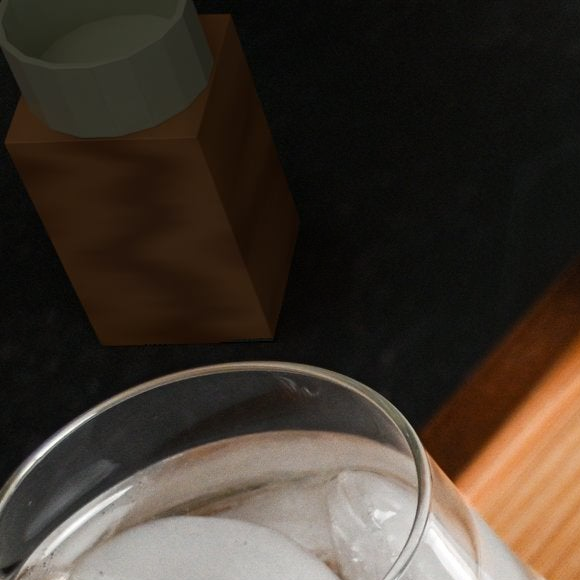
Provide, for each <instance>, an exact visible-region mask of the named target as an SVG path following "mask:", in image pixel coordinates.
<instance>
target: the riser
mask: <svg viewBox="0 0 580 580" xmlns="http://www.w3.org/2000/svg"><path fill="white" fill-rule="evenodd" d="M198 17H199V20H200V23H201V26H202V29H203V31H204V34H205V37H206V40H207V43H208V45H209V48H210V51H211V54H212V57H213V60H214V63H213V67H212V71H211V74H210V78H209V82H208V85H207V86H206V88H205V89H204V90H203V91H202V92H201V93H200V94H199V95H198V97H197V98H196V99H195V100H194V101H193V102H192V103H191V104H190V106H189V107H188V108H187V109H185V110H183V111H182V112H180V113H178V114H176V115H175V116H173V117H171V118H170V119H168V120H166V121H165V122H163V123H161V124H159V125H158V126H155V127H152V128H149V129H145V130H142V131H138V132H135V133H131V134H128V135H124V136H121V137H102V138H80V137H76V136H73V135H69V134H65V133H62V132H58V131H54V130H52V129H50V128H49V127H47V126H46V125H45V124H44V123H43V122H41V121H40V120H39V119H38V118H37V117H35V116H34V115H33V114H32V113H31V112H30V110H29V108H28V105H27V103H26V101H25V99H24V97H23V95H22V93H21V94H20V96H19V100H18V102H17V105H16V108H15V112H14V113H13V117H12V120H11V122H10V126H9V127H8V130H7V134H6V136H5V139H4V146H5V148H6V150H7V152H8V154H9V156H10V158H11V161H12V162H13V165H14V167H15V168H16V171H17V173H18V175H19V177H20V179H21V181H22V183H23V186H24V187H25V190H26V192H27V193H28V196H29V198H30V199H31V201H32V204H33V206H34V209H35V210H36V212H37V214H38V217H39V219H40V220H41V223H42V225H43V227H44V229H45V231H46V233H47V235H48V237H49V239H50V241H51V243H52V246H53V248H54V250H55V252H56V254H57V256H58V258H59V260H60V263H61V264H62V267H63V268H64V270H65V273H66V275H67V277H68V279H69V281H70V283H71V285H72V287H73V289H74V292H75V294H76V295H77V298H78V300H79V302H80V304H81V307H82V308H83V310H84V312H85V314H86V316H87V319H88V321H89V323H90V325H91V327H92V329H93V330H94V332H95V335H96V337H97V340H98V341H99V343H100V345H101V347H125V346H126V347H127V346H128V347H129V346H165V345H164V344H166V346H167V345H169V344H171V345H203V344H204V345H206V344H207V345H208V344H209V345H210V344H222V343H221V342H226V341H232V340H236V339H244V338H245V339H249V338H250V339H257V338H265V339H266V338H273V337H274V334H275V329H276V326H277V322H278V319H279V320H280V317H279V314H280V315H281V313H280V311H281V312H282V308H283V304H282V302H283V303H284V298H285V294H286V289H287V286H288V281H289V276H290V271H291V267H292V262H293V257H294V253H295V249H296V244H297V241H298V235H299V230H300V226H301V223H302V221H301V219H300V216H299V213H298V210H297V207H296V204H295V200H294V198H293V195H292V191H291V189H290V185H289V184H288V183H289V182H288V180H287V177H286V175H285V171H284V168H283V165H282V162H281V160H280V156H279V154H278V150H277V148H276V144H275V142H274V138H273V136H272V132H271V130H270V127H269V124H268V120H267V118H266V115H265V112H264V108H263V106H262V103H261V100H260V97H259V95H258V91H257V88H256V85H255V83H254V79H253V77H252V74H251V70H250V68H249V65H248V62H247V59H246V56H245V53H244V50H243V47H242V44H241V41H240V38H239V35H238V32H237V30H236V26H235V23H234V20H233V18H232V15H231V13H216V14H215V13H213V14H198ZM281 307H282V308H281ZM278 323H279V322H278ZM277 327H278V326H277ZM145 344H147V345H145ZM150 344H151V345H150ZM154 344H156V345H154ZM159 344H161V345H159Z"/></svg>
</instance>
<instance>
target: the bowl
mask: <svg viewBox="0 0 580 580" xmlns="http://www.w3.org/2000/svg"><path fill="white" fill-rule="evenodd" d="M198 15H199V14H198V11H197V9H196V6H195V4H194V1H193V0H0V49H1V52H2V53H3V56H4V58H5V59H6V63H7V64H8V66H9V69H10V70H11V72H12V76H13V77H14V79H15V81H16V83H17V86H18V89H19V90H20V92H21V94H22V95H23V97H24V99H25V101H26V103H27V105H28V108H29V110H30V112H31V113H32V114H33V115H34V116H35V117H37V118H38V119H39V120H40V121H41V122H43V123H44V124H45V125H46V126H47V127H49V128H50V129H52V130H54V131H58V132H62V133H65V134H69V135H73V136H76V137H80V138H102V137H121V136H124V135H128V134H131V133H135V132H138V131H142V130H145V129H149V128H152V127H155V126H158V125H159V124H161V123H163V122H165V121H166V120H168V119H170V118H171V117H173V116H175V115H176V114H178V113H180V112H182V111H183V110H185V109H187V108H188V107H189V106H190V104H191V103H192V102H193V101H194V100H195V99H196V98H197V97H198V95H199V94H200V93H201V92H202V91H203V90H204V89H205V88H206V86H207V85H208V82H209V78H210V74H211V71H212V67H213V63H214V60H213V57H212V54H211V51H210V48H209V45H208V43H207V40H206V37H205V34H204V31H203V29H202V26H201V23H200V20H199V17H198Z"/></svg>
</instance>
